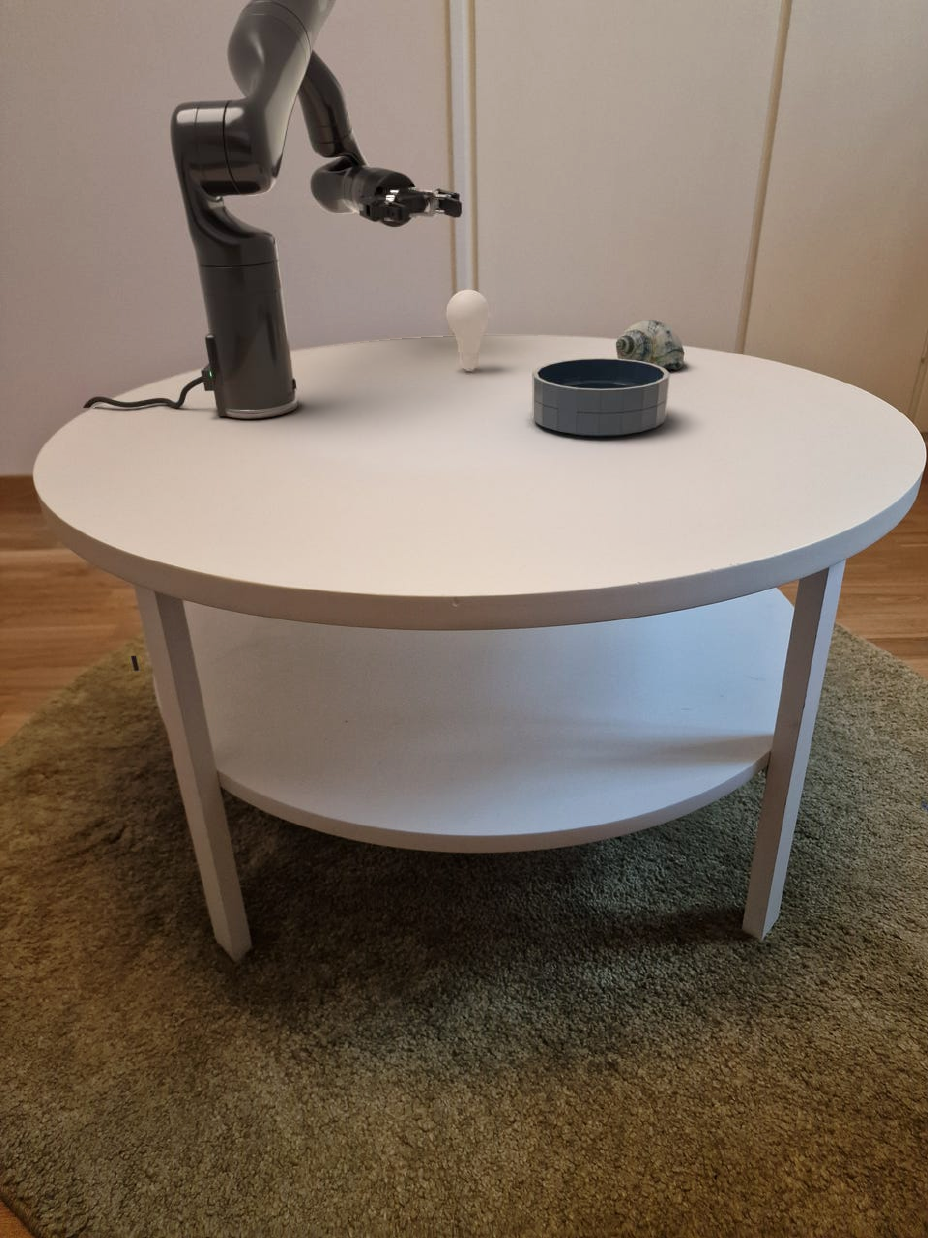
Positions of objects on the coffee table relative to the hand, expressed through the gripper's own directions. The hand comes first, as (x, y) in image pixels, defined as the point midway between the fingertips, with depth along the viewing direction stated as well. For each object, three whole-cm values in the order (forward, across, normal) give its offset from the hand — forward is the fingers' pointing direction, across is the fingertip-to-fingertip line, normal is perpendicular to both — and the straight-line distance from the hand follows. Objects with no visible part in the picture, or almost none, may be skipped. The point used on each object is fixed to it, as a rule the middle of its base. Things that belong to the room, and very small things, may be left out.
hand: (432, 212), depth 119 cm
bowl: (+41, 0, +16) cm, 44 cm away
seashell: (+24, +21, +19) cm, 37 cm away
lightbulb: (+11, 0, +20) cm, 22 cm away
